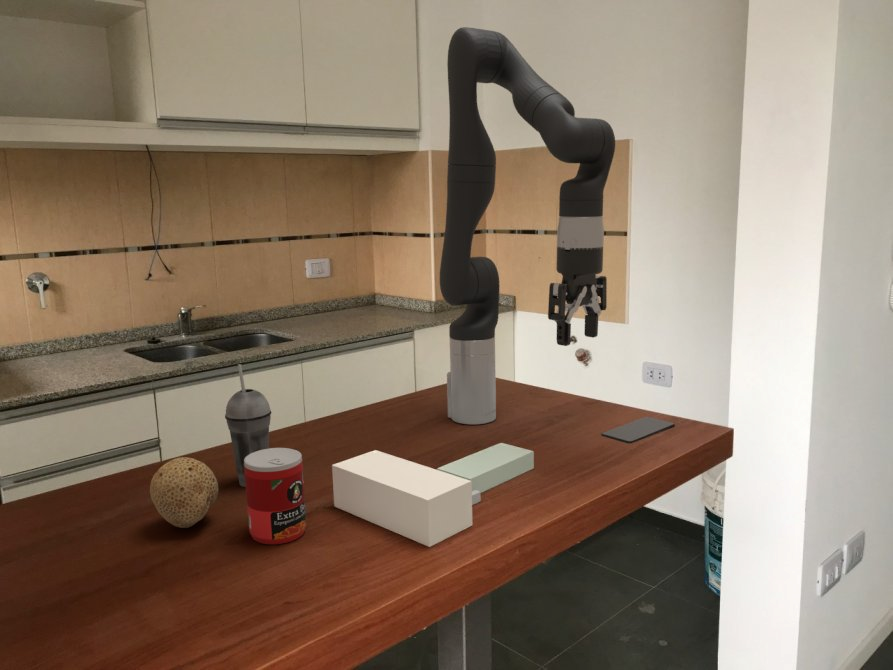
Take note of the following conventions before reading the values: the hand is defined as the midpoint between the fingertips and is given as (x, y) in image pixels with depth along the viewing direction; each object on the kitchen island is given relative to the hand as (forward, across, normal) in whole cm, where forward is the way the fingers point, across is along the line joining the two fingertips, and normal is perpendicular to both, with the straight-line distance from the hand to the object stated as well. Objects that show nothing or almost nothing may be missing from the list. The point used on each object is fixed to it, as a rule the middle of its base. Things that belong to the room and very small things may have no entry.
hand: (577, 340), depth 123 cm
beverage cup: (+22, +42, -34) cm, 59 cm away
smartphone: (+21, -20, +2) cm, 29 cm away
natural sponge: (+21, +57, -28) cm, 67 cm away
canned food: (+21, +51, -16) cm, 57 cm away
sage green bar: (+21, +17, -6) cm, 27 cm away
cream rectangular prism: (+21, +32, -6) cm, 38 cm away
